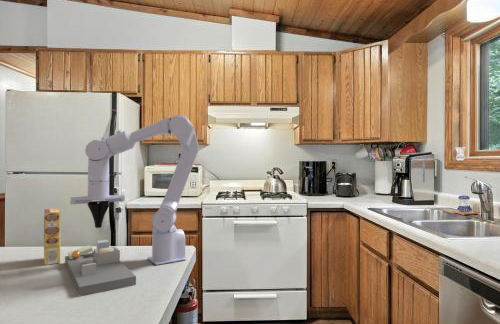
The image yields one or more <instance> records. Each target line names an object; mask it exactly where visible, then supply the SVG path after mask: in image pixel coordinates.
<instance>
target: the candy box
mask: <svg viewBox="0 0 500 324" xmlns="http://www.w3.org/2000/svg"><path fill="white" fill-rule="evenodd" d="M43 212H44V214H43V255H44V256H43V260H44V261H43V262H44V263H43V264H44V266H49V265H54V264H61V238H62V237H61V236H62V235H61V231H62V229H61V210H60V208H47V209H44V211H43Z"/></svg>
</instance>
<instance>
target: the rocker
mask: <svg viewBox="0 0 500 324" xmlns="http://www.w3.org/2000/svg"><path fill="white" fill-rule="evenodd" d="M74 251H79V252H80V253H81V255H84V254H86V253H92V252H93V251H94V249H93V247H92V246H91V245H90V244H88V245H86V246H82V247H80V248H77V249H75V250H71V251H69V252H67V256H69V258H70V259H73V258H72V253H73V252H74Z"/></svg>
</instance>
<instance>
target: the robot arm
mask: <svg viewBox="0 0 500 324" xmlns="http://www.w3.org/2000/svg"><path fill="white" fill-rule="evenodd" d="M172 134H173V136H174V137H176V138H177V140H178V142H179V144H180V146H181V149H182V151H181V154H180V156H179V159H178V162H177V164H176V167H175V168H174V169H175V170H174V172H173V174H172V178H171V180H170V182H169V186H168V188H167V190H166V192H165V196H164V198H163V199H162V202H161V204H160V205H159V209H158V210H157V211H156V212H155V213H154V214H153V216H152V217H151V225H152V227H153V228H152V229H151V230H152V231H151V233H152V235H151V236H152V237H151V238H152V239H151V241H152V242H151V244H152V245H151V254H152V255H151V256H148V257H147V260H149V261H150V262H151V263H153V264H154V265H156V266H158V265H163V264H164V265H165V264H170V263H176V262H181V261H186V260H187V257H186V236H185V232H184V230H183V229H179V228H178V227H176V225H175V223H176V221H177V217H178V216H177V215H178V214H177V209H178V207H179V203H180V201H181V198H182V195H183V193H184V190H185V187H186V185H187V182H188V180H189V178H190V175H191V172H192V170H193V167H194V163H195V161H196V159H197V156H198V153H199V151H200V147H199V143H198V138H197V134H196V130H195V127H194V125H193V123H192V122H191V121H190V120H189V118H188V117H187V116H185V115H184V114H176V115H173V116H172V117H171V116H170V117H165V118H162V119H160V120H158V121H156V122H153V123H151V124H149V125H146V126H144V127H141V128H139V129H137V130H135V131H133V132H130V131H127V130H124V131H122V130H117V131H116V133H115V134H112V135H110V136H107V137H106V136H102V137H101V138H100V139H101V140H99V139H93V140H91V141H90V142H89V143H87V144H86V145H85V149H84V152H85V154H86V157H87V158H88V159H87V160H88V161H87V162H88V164H87V195H86V196H70V200H69V201H70V203H69V204H70V205H71V206H72V205H78V204H79V205H82V204H87V207H88V208H89V211H90V213H91V216H92V218H93V222H94V228H95V229H101V228H102V226H103V221H104V218H105V215H106V213H107V211H108V208H109V206H110V203H114V202H116V203H117V202H118V203H119V202H121V203H123V202H126V200H125V198H126V197H125V195H124V194H113V195H112V194H110V158H111V157H113V156H116V155H119V154H122V153H125V152H127V151H129V150H131V149H134V147H135V145H136V143H138V142H142V141H144V140H147V139H150V138H154V137H156V136H158V135H165V136H172ZM177 228H178V229H177Z"/></svg>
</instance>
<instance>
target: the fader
mask: <svg viewBox="0 0 500 324" xmlns="http://www.w3.org/2000/svg"><path fill="white" fill-rule="evenodd" d="M108 247H110V241H109V240H107V239H101V240H96V249H101V248H108Z"/></svg>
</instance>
